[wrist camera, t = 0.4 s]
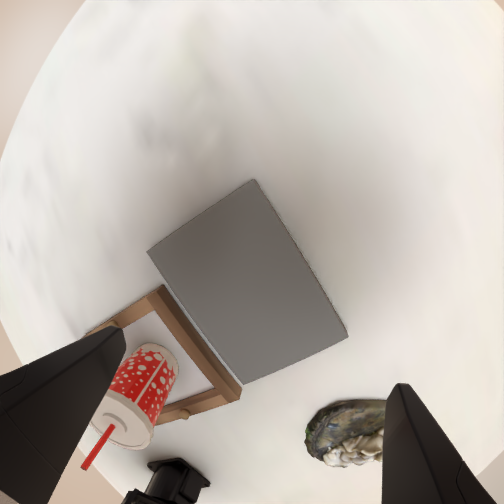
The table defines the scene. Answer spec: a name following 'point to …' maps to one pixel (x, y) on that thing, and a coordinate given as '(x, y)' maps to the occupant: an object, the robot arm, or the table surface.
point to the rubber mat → (248, 286)
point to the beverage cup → (134, 399)
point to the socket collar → (193, 346)
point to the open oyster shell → (347, 433)
